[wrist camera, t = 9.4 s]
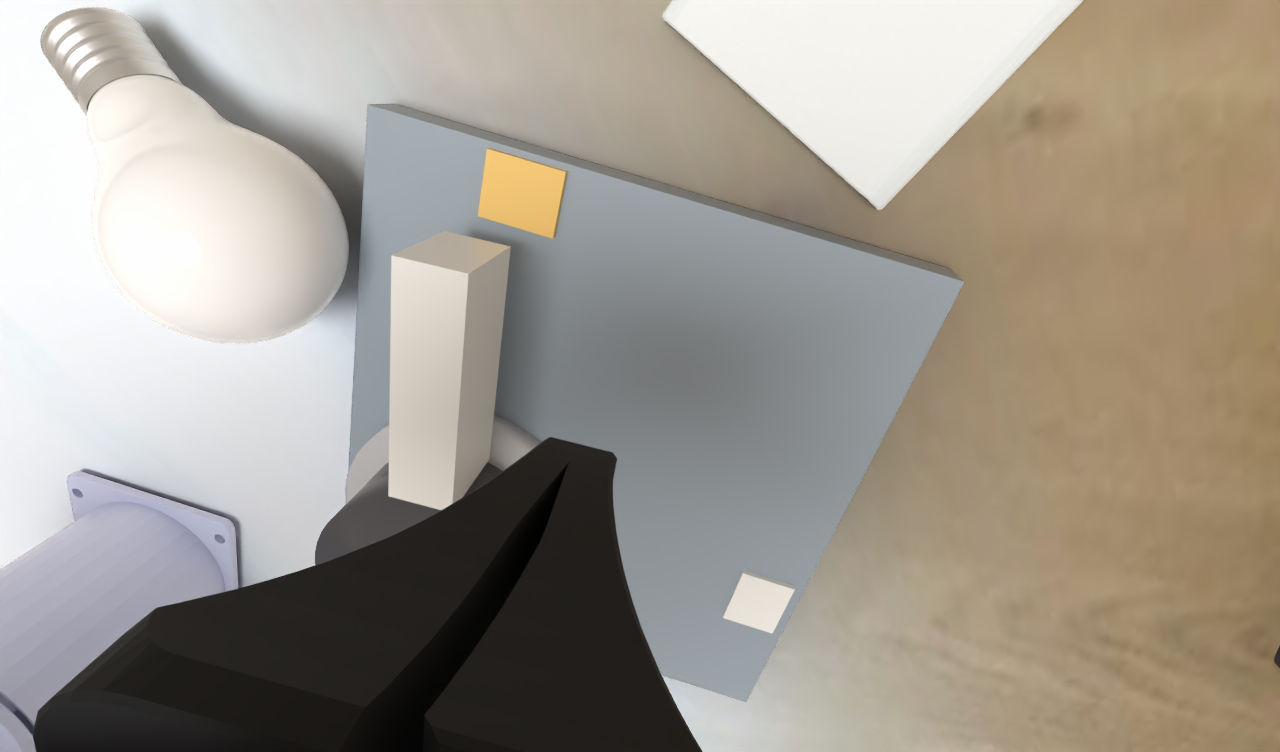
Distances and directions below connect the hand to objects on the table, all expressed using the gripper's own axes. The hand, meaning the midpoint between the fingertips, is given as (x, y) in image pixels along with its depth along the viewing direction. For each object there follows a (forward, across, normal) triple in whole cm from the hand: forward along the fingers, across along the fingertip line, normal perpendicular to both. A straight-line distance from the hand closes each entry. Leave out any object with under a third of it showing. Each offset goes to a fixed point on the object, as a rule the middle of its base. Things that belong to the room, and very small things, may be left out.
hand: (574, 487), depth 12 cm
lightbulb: (+9, +19, -6) cm, 21 cm away
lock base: (+10, +1, +5) cm, 12 cm away
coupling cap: (+7, +5, +5) cm, 10 cm away
